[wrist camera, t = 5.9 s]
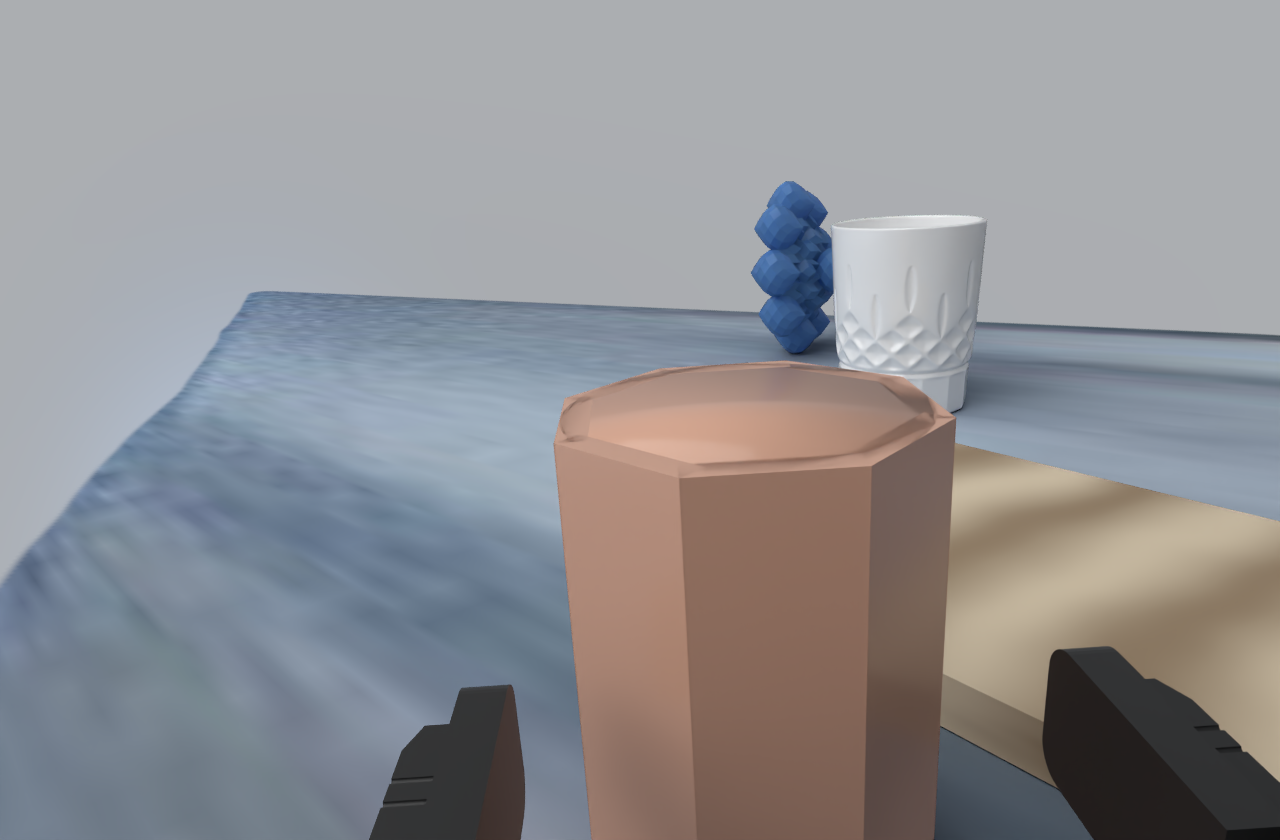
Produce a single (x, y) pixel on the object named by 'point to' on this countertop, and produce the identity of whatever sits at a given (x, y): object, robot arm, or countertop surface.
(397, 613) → the countertop surface
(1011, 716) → the oak board
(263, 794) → the countertop surface
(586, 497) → the salmon octagonal post
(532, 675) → the countertop surface
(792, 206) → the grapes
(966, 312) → the white cup
